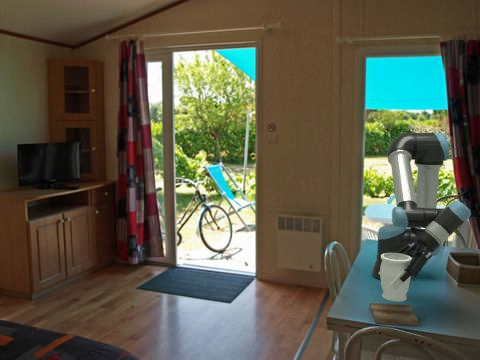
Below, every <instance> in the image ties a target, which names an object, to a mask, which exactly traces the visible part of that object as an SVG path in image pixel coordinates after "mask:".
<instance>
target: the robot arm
mask: <svg viewBox="0 0 480 360" xmlns="http://www.w3.org/2000/svg"><path fill="white" fill-rule="evenodd" d="M449 157H450V145H449V141H448V138H447V136H446V134H444V133H441V132H404V133H402V134H400V135H398V136H396V137H395V138H394V139H393V140H392V142H391V144H389V147H388V150H387V161H388V163H389V165H390V167H391V175H392V182H393V187H394V195H395V205H396V206H394V207H393V208H392V212H391V221H392V223H391V224H385V225H383V226H380V227H379V228H378V231H377V247H376V260H375V262H374V265H373V267H372V270H371V274H372V275H371V276H372V277H373V278H375V279H377V280H380V281H381V278H380V267H381V263H382V259H381V255H382V254H385V253H399V254H404V255H408V256H410V257H411V258H412V260H411V262H410V264H409V266H408V268H407V269H404V270H405V271H406V272H405V271H403V272H402V273H401V274H399V275H398V276H397V277H396V278H395V279H394V280H393V281H392V282H391V283H390V284H391V285H392V286H393V287H394V288H395V289H397V288H398V287H399V286H400V285H402V284H403V283H404V282H405V281H406V280H407V279H408V278H409V277H410V276H411V277H414V278H415V277H417V276H418V274H420V272H421V270H422V269H423V267H424V266H425V265H426V264H427V263H428V261H429V260H430V259H431V258H432V257H435V256H439V253H441V250H442V247H443V243H444V242H445V241H447V240H448V238H449V237H451V236H452V234H454V233H455V232H456V231H457V230H458V229H459V228H460V227H461V226H462V225H463V224H464V223H465V222H467V220H469V218H470V217H471V215H472V212H471V211H472V210H470V208H468V206H466V204H464V203H463V202H462V201H459V200H453V201H452V202H451V203H450V204H448V206H447V207H445V208H444V207H443V208H439V207H438V208H437V204H438V192H439V189H438V188H439V176H440V168H441V167H443V166H444V162H446V161H448V160H449ZM412 161H414V163H413V164H414V165H415V166H416V167H417V177H416V178H417V179H416V190H415V183H414V178H413V172H412V165H411V162H412Z"/></svg>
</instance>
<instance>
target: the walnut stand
mask: <svg viewBox="0 0 480 360" xmlns="http://www.w3.org/2000/svg"><path fill="white" fill-rule="evenodd" d="M369 310H370V312H371V315H372V317H373V319H374V322H375V324H376V325H387V326H388V325H389V326H390V325H392V326H408V327H410V326H411V327H419V326H420V325H419V324H420V321H419V319H418V317H417V315H416V314H415V313H414V310H412V308H411V306H410V305H409V304H403V303H401V304H400V303H399V304H398V303H382V302H381V303H378V302H377V303H376V302H369Z"/></svg>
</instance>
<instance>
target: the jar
mask: <svg viewBox="0 0 480 360" xmlns="http://www.w3.org/2000/svg"><path fill="white" fill-rule="evenodd" d="M381 259H382V263H381V267H380V278H381V280H380V287H381V290H382V294H381V296H382V298H383V299H385V300H387V301H389V302H395V303H396V302H399V303H400V302H404V301H406V300H407V299H408V298H407V297H408V296H407V293H408V291H409V288H410V287H409V286H410V283H411V279H412V278H411V277H412V276H410V277H409V278H408V279H407V280H406V281H405V282H404V283H403V284H402V285H400V286H399V287H398V288H397V289H395V288H394V287H393V286H392V285H391V284H390V283H391V282H392V281H393V280H394V279H395V278H396V277H397V276H398V275H399V274H401V273H402V272H403V271H405V270H404V269H407V268H408V266H409V264H410V262H411V260H412V258H411V257H410V256H408V255H404V254H399V253H385V254H382V255H381ZM405 272H406V271H405Z"/></svg>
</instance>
